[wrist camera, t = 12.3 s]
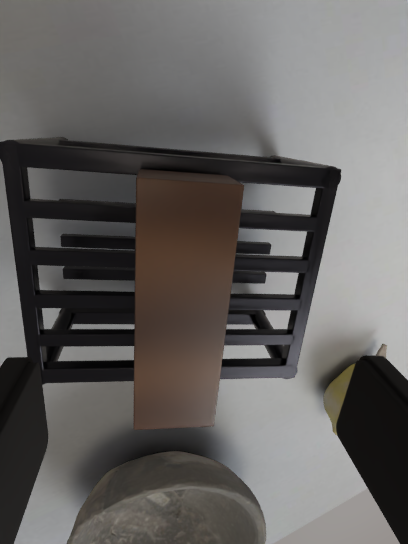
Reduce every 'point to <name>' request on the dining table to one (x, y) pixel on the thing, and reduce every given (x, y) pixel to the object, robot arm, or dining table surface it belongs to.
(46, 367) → the rack
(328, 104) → the dining table surface
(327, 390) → the fruit
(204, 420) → the brown wooden block
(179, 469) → the bowl
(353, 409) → the robot arm
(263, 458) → the dining table surface
